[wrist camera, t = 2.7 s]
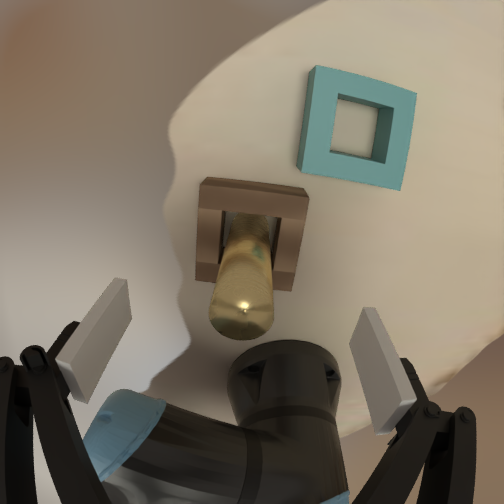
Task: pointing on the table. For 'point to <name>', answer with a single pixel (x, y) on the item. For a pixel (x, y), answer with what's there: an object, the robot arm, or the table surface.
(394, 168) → the socket block
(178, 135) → the table surface
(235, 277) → the pin
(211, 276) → the mount block
